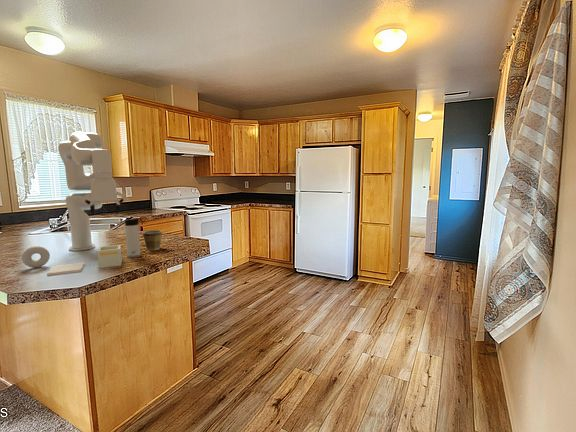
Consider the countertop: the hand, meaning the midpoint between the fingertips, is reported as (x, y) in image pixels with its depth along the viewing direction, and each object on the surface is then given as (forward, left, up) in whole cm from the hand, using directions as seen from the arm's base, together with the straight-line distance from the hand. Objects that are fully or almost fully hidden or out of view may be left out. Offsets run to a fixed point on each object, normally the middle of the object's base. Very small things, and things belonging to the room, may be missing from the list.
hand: (105, 213), depth 144 cm
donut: (-9, -30, -25) cm, 39 cm away
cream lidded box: (0, 0, -24) cm, 24 cm away
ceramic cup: (-25, +19, -25) cm, 40 cm away
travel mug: (-11, +10, -24) cm, 29 cm away
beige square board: (+1, -17, -24) cm, 29 cm away
